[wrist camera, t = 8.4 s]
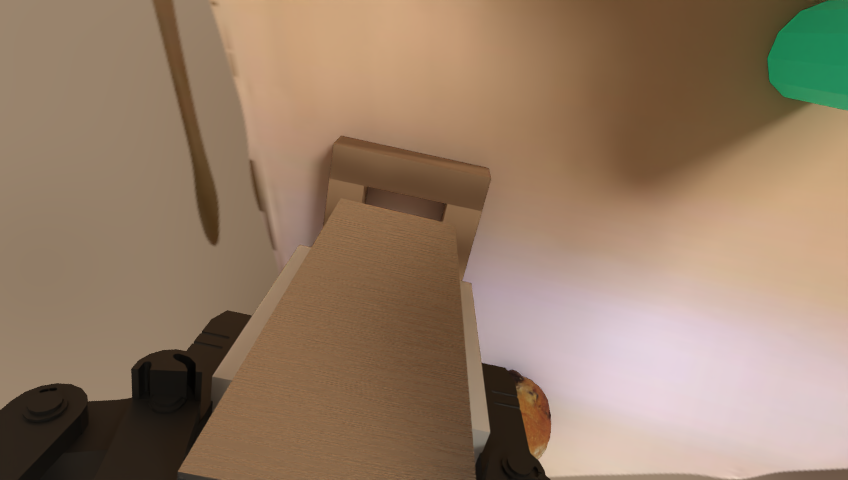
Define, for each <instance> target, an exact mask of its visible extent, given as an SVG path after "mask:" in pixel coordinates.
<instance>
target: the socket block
mask: <svg viewBox="0 0 848 480" xmlns="http://www.w3.org/2000/svg"><path fill="white" fill-rule="evenodd" d="M490 181H491V176H490V172H489V168H486V167H481V166H476V165H472V164H467V163H463V162H458V161H454V160H449V159H445V158H440V157H435V156H431V155H426V154H422V153H417V152H413V151H408V150H404V149H399V148H395V147H390V146H385V145H381V144H376V143H372V142H367V141H363V140H358V139H354V138H349V137H344V136H341V137H340V138H339V139H338V140H337V141H336V142H335V143H334V144H333V152H332V160H331V168H330V176H329V184H328V192H327V200H326V208H325V216H324V224H323V227H324V226H325V224H326V222H327V220H328V219H329V217H330V215H331V214H332V212H333V210H334V209H335V207H336V205H337V204H338V202H339V200H340V199H341V198H342V199H346V200H350V201H355V202H359V203H363V204H365V202H366V196H367V190H368V187H371V188H376V189H380V190H385V191H390V192H394V193H399V194H404V195H408V196H413V197H418V198H422V199H427V200H432V201H436V202H441V203H445V205H444V210H443V214H442V218H441V222H445V223H450V224H454V225H455V228H456V240H457V253H458V265H459V277H460V281H462V280H463V276H464V273H465V269H466V266H467V262H468V259H469V255H470V251H471V248H472V244H473V241H474V237H475V234H476V230H477V227H478V223H479V220H480V216H481V213H482V209H483V206H484V202H485V199H486V195H487V191H488V188H489V184H490Z"/></svg>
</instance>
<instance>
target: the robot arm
mask: <svg viewBox="0 0 848 480" xmlns="http://www.w3.org/2000/svg"><path fill="white" fill-rule="evenodd" d="M310 249H311V247H307V246H302V245H299V246H298V247H297V249H296V251H295V252H294V254H293V255H292V257H291V258H290V260H289V261H288V263H287V264H286V266H285V267H284V269H283V270H282V272H281V273H280V275H279V276H278V278H277V279H276V281H275V282H274V284H273V285H272V287H271V288H270V290H269V291H268V293H267V294H266V296H265V297H264V299H263V300H262V302H261V303H260V305H259V306H258V308H257V309H256V311H255V313H254V314H253V315H252V316H251V315H247V314H242V313H237V312H232V311H225V312H224V313H222V314H220V315H219V316H217V317H215V318H213V319H211V321H210V322H209V323H208V325H207V326H206V327H205V328H204V330H203V331H202V333H201V334H200V335H199V336H198V337H197V338H196V340H195V341H194V344H192V345H191V346H190V347H189V348H188V350H187V351H182V350H176V349H175V350H162V351H159V352H155V353H152V354H149V355H148V356H146V357H144V358H142V359H140V360H139V361H138V362H137V363H136V364H135V365H134V366H133V368H132V369H131V373H132V398H128V399H121V400H108V401H91V402H90V401H89V402H88V399H87V395H86V393H85V392H84V391H83V390H82V389H81V388H79V387H76V386H74V385H72V384H59V383H57V384H51V385H45V386H40V387H37V388H34V389H32V390H29V391H27V392H24V393H23V394H21V395H20V396H18V397H16V398H15V399H13V400H12V401H11V402H9V403H8V404H7V405H6V406H5V407H4V408H2V409H1V410H0V480H177V477H178V470H179V469H180V467H181V465H182V464H183V462H184V460H185V458H186V457H187V455H188V453H189V452H190V450H191V448H192V447H193V445H194V443H195V442H196V440H197V438H198V437H199V435H200V433H201V432H202V430H203V428H204V427H205V425H206V423H207V422H208V420H209V418H210V417H211V415H212V413H213V412H214V410H215V408H216V407H217V405H218V403H219V401H220V400H221V398H222V396H223V395H224V393H225V391H226V390H227V388H228V386H229V385H230V383H231V381H232V380H233V378H234V376H235V375H236V373H237V371H238V370H239V368H240V366H241V365H242V363H243V361H244V360H245V358H246V356H247V355H248V353H249V351H250V350H251V348H252V346H253V345H254V343H255V341H256V339H257V338H258V336H259V334H260V333H261V331H262V329H263V328H264V326H265V324H266V323H267V321H268V319H269V318H270V316H271V314H272V313H273V311H274V309H275V308H276V306H277V304H278V303H279V301H280V299H281V298H282V296H283V294H284V293H285V291H286V289H287V288H288V286H289V284H290V283H291V281H292V279H293V277H294V276H295V274H296V272H297V271H298V269H299V267H300V266H301V264H302V262H303V261H304V259H305V257H306V256H307V254H308V252H309V251H310ZM460 289H461V301H462V313H463V325H464V337H465V349H466V361H467V373H468V386H469V398H470V410H471V422H472V434H473V446H474V458H475V470H476V480H550V479H549V478H548V477H547V476H546V475H545V471H544V469H543V467H542V466H541V464H540V462H539V461H538V460H537V459H536V458H535V457H534V456H533V455H532V454H531V453H530V450H529V446H528V441H527V436H526V432H525V427H524V422H523V418H522V413H521V410H520V404H519V399H518V398H517V396H518V395H517V390H516V385H515V381H514V380H513V378H512V377H511V376H510V374H509V373H508V371H507V370H506V368H503V367H498V366H493V365H489V364H484V363H481V356H480V348H479V340H478V332H477V324H476V316H475V309H474V301H473V293H472V285H471V283H468V282H463V281H460Z"/></svg>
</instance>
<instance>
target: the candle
mask: <svg viewBox="0 0 848 480" xmlns="http://www.w3.org/2000/svg"><path fill="white" fill-rule="evenodd" d="M767 62H768V72H769V82H770V83H771V84H772V85H773V86H774V87H775V88H776V89H777V90H778V91H779V92H780V94H781V95H782V96H783V97H787V98H791V99H796V100H801V101H805V102H810V103H815V104H820V105H824V106H829V107H834V108H838V109H843V110H848V0H828V1H825V2H823V3H820V4H818V5H815V6H812V7H810V8H807V9H804V10H802V11H800V12H799V13H798V14H797V15H796V16H795V17H794V18H793V19H792V20H791V21H790V22H789V23H788V24H787V25H786V26H784V27H783V28H782V29H781V30H780V31H779V32H778V34H777V37H776V39H775V41H774V44H773V46H772V48H771V51H770V53H769V55H768V58H767Z"/></svg>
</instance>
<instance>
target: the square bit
mask: <svg viewBox="0 0 848 480" xmlns="http://www.w3.org/2000/svg"><path fill="white" fill-rule="evenodd" d="M177 480H476V470H475V458H474V446H473V434H472V422H471V410H470V398H469V386H468V373H467V361H466V349H465V337H464V325H463V313H462V301H461V289H460V277H459V265H458V253H457V240H456V228H455V225H454V224H450V223H445V222H441V221H437V220H432V219H428V218H424V217H419V216H415V215H411V214H406V213H402V212H398V211H393V210H389V209H385V208H381V207H376V206H372V205H368V204H363V203H359V202H355V201H350V200H346V199H342V198H341V199H340V200H339V202H338V204H337V205H336V207H335V209H334V210H333V212H332V214H331V215H330V217H329V219H328V220H327V222H326V224H325V226H324V227H323V229H322V231H321V232H320V234H319V236H318V237H317V239H316V241H315V242H314V244H313V246H312V247H311V249H310V251H309V252H308V254H307V256H306V257H305V259H304V261H303V262H302V264H301V266H300V267H299V269H298V271H297V272H296V274H295V276H294V277H293V279H292V281H291V283H290V284H289V286H288V288H287V289H286V291H285V293H284V294H283V296H282V298H281V299H280V301H279V303H278V304H277V306H276V308H275V309H274V311H273V313H272V314H271V316H270V318H269V319H268V321H267V323H266V324H265V326H264V328H263V329H262V331H261V333H260V334H259V336H258V338H257V339H256V341H255V343H254V345H253V346H252V348H251V350H250V351H249V353H248V355H247V356H246V358H245V360H244V361H243V363H242V365H241V366H240V368H239V370H238V371H237V373H236V375H235V376H234V378H233V380H232V381H231V383H230V385H229V386H228V388H227V390H226V391H225V393H224V395H223V396H222V398H221V400H220V401H219V403H218V405H217V407H216V408H215V410H214V412H213V413H212V415H211V417H210V418H209V420H208V422H207V423H206V425H205V427H204V428H203V430H202V432H201V433H200V435H199V437H198V438H197V440H196V442H195V443H194V445H193V447H192V448H191V450H190V452H189V453H188V455H187V457H186V458H185V460H184V462H183V464H182V465H181V467H180V469H179V470H178V477H177Z"/></svg>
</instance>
